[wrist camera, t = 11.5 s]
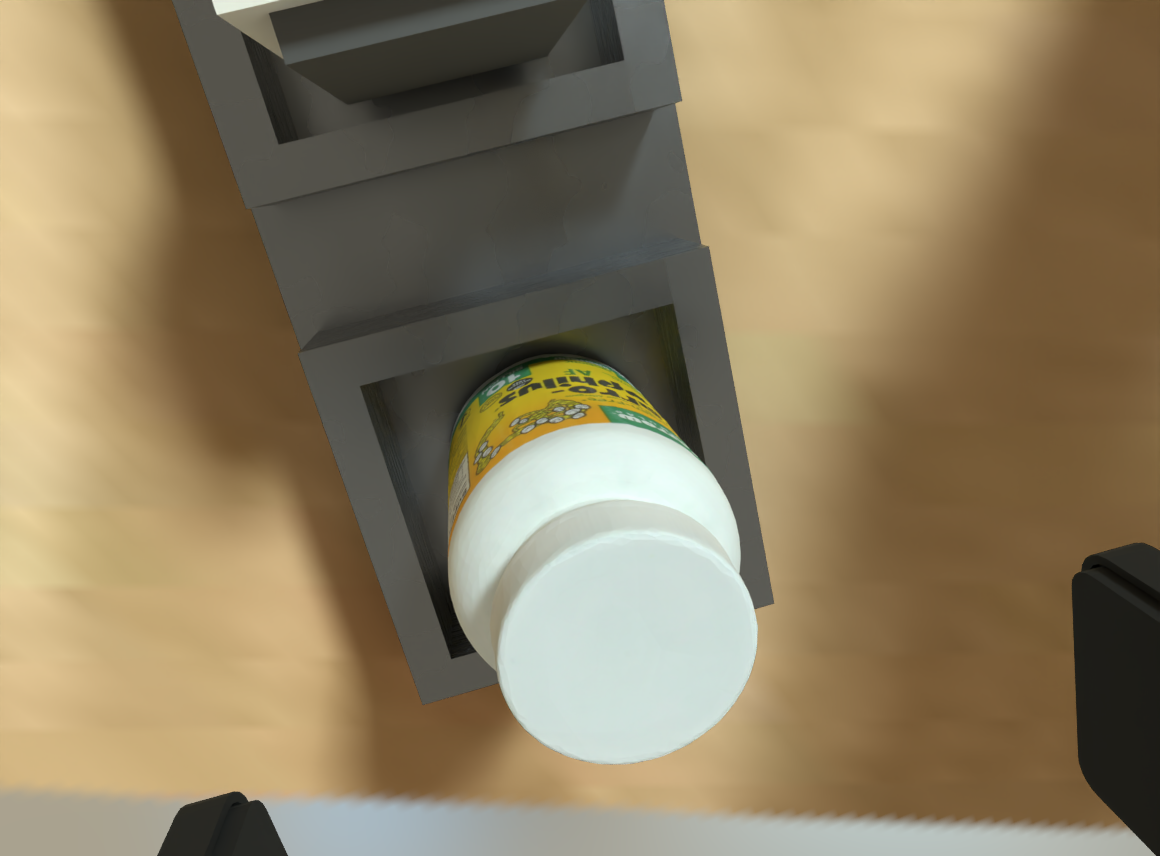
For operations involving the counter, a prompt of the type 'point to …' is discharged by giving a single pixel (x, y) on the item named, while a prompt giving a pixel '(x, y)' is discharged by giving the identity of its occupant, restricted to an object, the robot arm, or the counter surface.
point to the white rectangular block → (399, 38)
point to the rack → (478, 271)
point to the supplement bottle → (594, 563)
